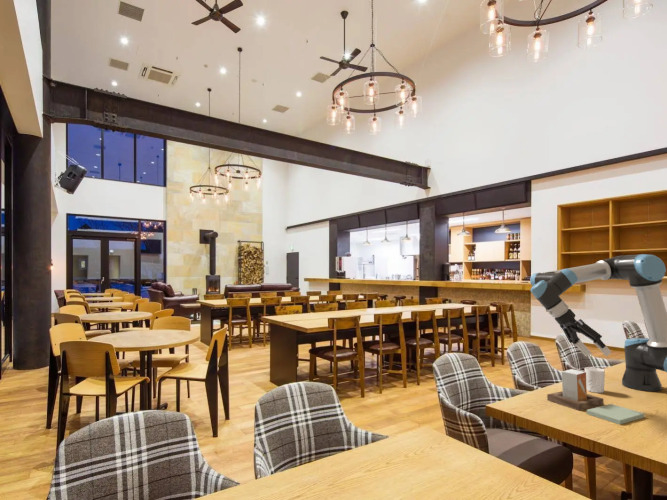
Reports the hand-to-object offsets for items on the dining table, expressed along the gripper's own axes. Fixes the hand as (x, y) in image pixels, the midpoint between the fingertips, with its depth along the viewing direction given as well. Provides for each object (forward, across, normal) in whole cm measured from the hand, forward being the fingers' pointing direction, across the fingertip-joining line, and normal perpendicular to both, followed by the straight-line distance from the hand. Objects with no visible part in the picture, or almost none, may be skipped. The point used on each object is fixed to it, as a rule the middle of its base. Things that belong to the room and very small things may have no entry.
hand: (598, 354), depth 163 cm
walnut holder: (+12, -10, -18) cm, 23 cm away
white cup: (+20, -26, 0) cm, 32 cm away
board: (+18, +5, -14) cm, 23 cm away
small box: (+12, -10, -18) cm, 23 cm away
